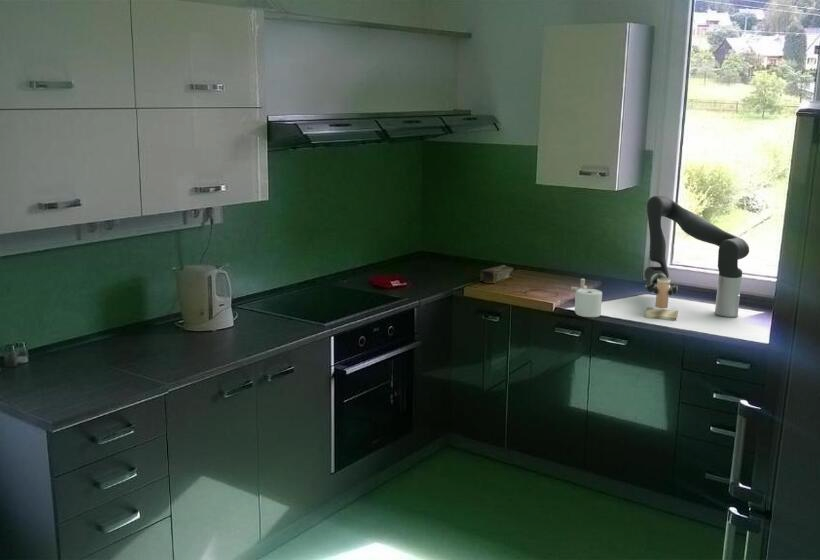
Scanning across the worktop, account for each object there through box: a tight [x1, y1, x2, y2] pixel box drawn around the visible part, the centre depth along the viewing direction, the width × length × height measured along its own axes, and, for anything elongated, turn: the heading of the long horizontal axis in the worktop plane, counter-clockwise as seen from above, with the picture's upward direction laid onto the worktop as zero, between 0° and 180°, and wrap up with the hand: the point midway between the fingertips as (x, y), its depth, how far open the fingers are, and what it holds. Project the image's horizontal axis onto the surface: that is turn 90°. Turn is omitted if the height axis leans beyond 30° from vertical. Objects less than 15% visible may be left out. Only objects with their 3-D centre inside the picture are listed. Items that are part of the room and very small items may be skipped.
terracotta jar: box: [654, 278, 671, 309], centre depth 347 cm, size 5×5×12 cm
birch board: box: [643, 307, 679, 321], centre depth 349 cm, size 13×12×1 cm
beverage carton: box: [479, 264, 514, 282], centre depth 407 cm, size 8×19×7 cm, turn 140°
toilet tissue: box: [574, 288, 603, 318], centre depth 349 cm, size 11×12×10 cm
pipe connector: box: [570, 278, 588, 292], centre depth 371 cm, size 10×10×10 cm
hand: (663, 292), depth 344 cm, fingers closed on terracotta jar, 5 cm apart
